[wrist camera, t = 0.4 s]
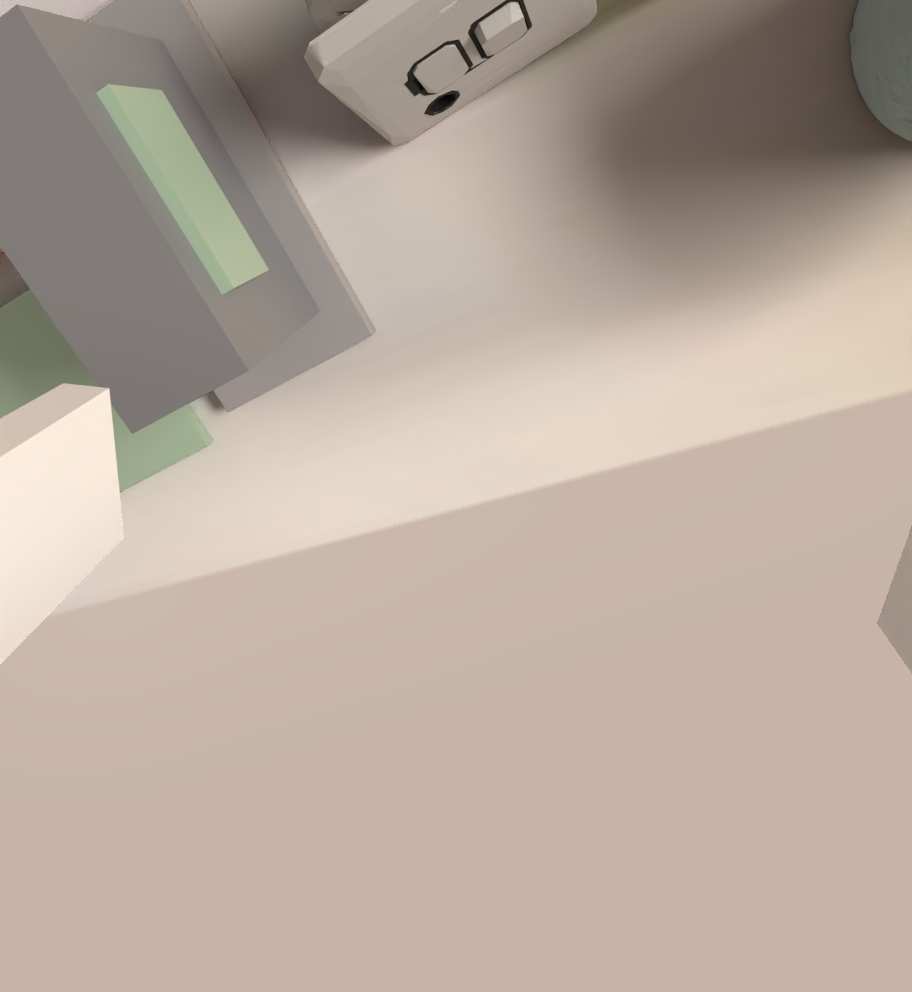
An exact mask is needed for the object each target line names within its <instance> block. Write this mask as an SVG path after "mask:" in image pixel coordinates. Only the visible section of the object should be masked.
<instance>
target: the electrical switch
mask: <svg viewBox="0 0 912 992" xmlns="http://www.w3.org/2000/svg"><path fill="white" fill-rule="evenodd" d="M306 3H307V7H308V10H309V14H310V16H311V18H312V20H313V22H314V24H315V26H316V27H317V29H318V31H319V34H320V35H319V36H318V37H316V38H315V39H314V40H312V41H311V42H309V44H308V47H307V50H306V53H305V55H304V60H305V61H306V63H307V64H308V66H309V68H310V69H311V71H312V73H313V74H314V76H315V78H316V80H317V81H318V83H320V84H321V85H322V86H323V87H324V88H326V89H327V90H328V91H329V92H330V93H332V94H333V95H334V96H335V97H336V98H338V99H339V100H340V101H341V102H342V103H343V104H345V105H346V106H347V107H348V108H349V109H351V110H352V111H353V112H354V113H355V114H357V115H358V116H359V117H360V118H361V119H363V120H364V121H365V122H366V123H367V124H369V125H370V126H371V127H372V128H373V129H375V130H376V131H377V132H378V133H379V134H380V135H382V136H383V137H384V138H385V139H386V140H388V141H389V142H390V143H391V144H392V145H394V146H395V145H399V144H403V143H408V142H409V141H411V140H413V139H414V138H416V137H417V136H419V135H420V134H422V133H423V132H425V131H426V130H428V129H430V128H431V127H433V126H434V125H436V124H437V123H439V122H440V121H442V120H443V119H445V118H446V117H448V116H449V115H451V114H453V113H454V112H456V111H457V110H459V109H460V108H462V107H463V106H465V105H466V104H468V103H469V102H471V101H473V100H474V99H476V98H477V97H479V96H480V95H482V94H483V93H485V92H486V91H488V90H489V89H491V88H492V87H494V86H496V85H497V84H499V83H500V82H502V81H503V80H505V79H506V78H508V77H509V76H511V75H512V74H514V73H516V72H517V71H519V70H520V69H522V68H523V67H525V66H526V65H528V64H529V63H531V62H532V61H534V60H535V59H537V58H539V57H540V56H542V55H543V54H545V53H546V52H548V51H549V50H551V49H552V48H554V47H555V46H557V45H558V44H560V43H562V42H563V41H565V40H566V39H568V38H569V37H571V36H572V35H574V34H575V33H577V32H578V31H580V30H581V29H583V28H584V27H585V26H587V25H588V24H590V22H591V21H592V20H593V18H594V17H595V16H596V14H597V13H598V12H597V5H596V0H306ZM336 12H337V13H342V14H343V15H340V16H339V15H338V14H337V13H336Z"/></svg>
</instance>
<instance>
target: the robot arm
mask: <svg viewBox="0 0 912 992" xmlns="http://www.w3.org/2000/svg"><path fill="white" fill-rule="evenodd" d="M123 538H124V532H123V521H122V511H121V501H120V491H119V481H118V471H117V461H116V451H115V441H114V431H113V421H112V411H111V401H110V391H109V388H103V387H94V386H85V385H75V384H66V383H63V384H61V385H59V386H58V387H56V388H54V389H52V390H50V391H49V392H47V393H45V394H43V395H42V396H40V397H38V398H36V399H34V400H33V401H31V402H29V403H27V404H25V405H24V406H22V407H20V408H18V409H17V410H15V411H13V412H11V413H9V414H8V415H6V416H4V417H2V418H1V419H0V664H1V663H2V662H3V661H4V660H5V659H6V658H7V657H8V656H9V655H10V654H11V653H12V652H13V651H14V650H15V649H16V648H17V647H18V646H19V645H20V644H21V643H22V642H23V641H24V640H25V638H27V637H28V636H29V635H30V634H31V633H32V632H33V631H34V629H36V627H38V626H39V625H40V623H41V622H42V621H43V620H44V619H45V618H46V617H47V616H48V615H49V614H50V613H51V612H52V611H53V610H54V609H55V608H56V607H57V606H58V605H59V604H60V603H61V602H62V601H63V600H64V599H65V598H66V597H67V596H68V595H69V594H70V593H71V592H72V591H73V590H74V589H75V588H76V587H77V586H78V585H79V583H80V582H81V581H82V580H83V579H84V578H85V577H86V576H87V575H88V574H89V573H90V572H91V571H92V570H93V569H94V568H95V567H96V566H97V565H98V564H99V563H100V562H101V561H102V560H103V559H104V558H105V557H106V556H107V555H108V554H109V553H110V552H111V551H112V550H113V549H114V548H115V547H116V546H117V545H118V544H119V542H120V541H121V540H122V539H123ZM877 624H878V625H879V627H880V628H881V629H882V631H883V632H884V634H885V635H886V637H887V638H888V639H889V641H890V642H891V644H892V645H893V647H894V648H895V649H896V651H897V652H898V654H899V655H900V657H901V658H902V660H903V661H904V663H905V664H906V666H907V667H908V668H909V670H910V671H911V673H912V527H911V530H910V533H909V535H908V538H907V541H906V544H905V547H904V549H903V552H902V556H901V558H900V561H899V564H898V566H897V569H896V572H895V575H894V578H893V580H892V583H891V586H890V589H889V592H888V595H887V597H886V600H885V603H884V606H883V609H882V612H881V614H880V617H879V620H878V623H877Z"/></svg>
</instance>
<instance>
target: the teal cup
mask: <svg viewBox="0 0 912 992" xmlns="http://www.w3.org/2000/svg"><path fill="white" fill-rule="evenodd" d="M849 36H850V45H851V58H850V59H851V61H852V65H853V74H854V76H855V79H856V82H857V85H858V89H859V92H860V94H861V96H862V97H863V99H864V101H865V103H866V105H867V107H868V108H869V109H870V111H871V112H872V113H873V115H874V116H875V117H876V118H877V119H878V120H879V121H880V122H881V123H882V124H883V125H884V126H885V127H886V128H888V129H889V130H890V131H892V132H893V133H895V134H897V135H898V136H900V137H902V138H904V139H906V140H909V141H912V0H859V2H858V5H857V8H856V11H855V14H854V17H853V29H852V30H851V32H850V33H849Z"/></svg>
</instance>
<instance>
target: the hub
mask: <svg viewBox="0 0 912 992" xmlns="http://www.w3.org/2000/svg"><path fill="white" fill-rule="evenodd" d="M0 247H1V249H2V250H3V252H4V253H5V254H6V256H7V257H8V259H9V260H10V262H11V263H12V264H13V266H14V267H15V269H16V270H17V271H18V273H19V274H20V276H21V277H22V279H23V280H24V281H25V283H26V284H27V286H28V287H29V288H30V290H31V291H32V293H33V294H34V296H35V297H36V298H37V300H38V301H39V303H40V304H41V306H42V307H43V308H44V310H45V311H46V313H47V314H48V315H49V317H50V318H51V320H52V321H53V323H54V324H55V325H56V327H57V328H58V330H59V331H60V332H61V334H62V335H63V337H64V338H65V340H66V341H67V342H68V344H69V345H70V347H71V348H72V350H73V351H74V352H75V354H76V355H77V357H78V358H79V359H80V361H81V362H82V364H83V365H84V367H85V368H86V369H87V371H88V372H89V374H90V375H91V376H92V378H93V379H94V381H95V382H96V384H97V385H98V386H99V387H103V388H109V391H110V401H111V405H112V406H113V408H114V409H115V411H116V412H117V413H118V415H119V416H120V418H121V419H122V420H123V422H124V423H125V425H126V426H127V428H128V429H129V430H130V432H131V433H132V434H134V433H135V432H137V431H139V430H141V429H143V428H145V427H146V426H148V425H150V424H152V423H154V422H156V421H157V420H159V419H161V418H163V417H165V416H167V415H169V414H170V413H172V412H174V411H176V410H178V409H180V408H181V407H183V406H185V405H187V404H189V403H191V402H192V401H194V400H196V399H198V398H200V397H202V396H204V395H205V394H207V393H209V392H211V391H214V392H215V394H216V396H217V397H218V399H219V400H220V402H221V403H222V405H223V406H224V408H225V409H226V411H227V412H230V411H231V410H233V409H235V408H237V407H239V406H241V405H243V404H245V403H246V402H248V401H250V400H252V399H254V398H256V397H258V396H260V395H262V394H263V393H265V392H267V391H269V390H271V389H273V388H275V387H277V386H278V385H280V384H282V383H284V382H286V381H288V380H290V379H292V378H294V377H295V376H297V375H299V374H301V373H303V372H305V371H307V370H309V369H310V368H312V367H314V366H316V365H318V364H320V363H322V362H324V361H326V360H327V359H329V358H331V357H333V356H335V355H337V354H339V353H341V352H342V351H344V350H346V349H348V348H350V347H352V346H354V345H356V344H358V343H359V342H361V341H363V340H365V339H367V338H369V337H371V336H372V335H373V334H374V333H375V331H376V330H375V328H374V327H373V325H372V323H371V321H370V319H369V318H368V316H367V314H366V312H365V311H364V309H363V307H362V305H361V304H360V302H359V300H358V298H357V296H356V295H355V293H354V291H353V289H352V288H351V286H350V284H349V282H348V281H347V279H346V277H345V275H344V274H343V272H342V270H341V268H340V266H339V265H338V263H337V261H336V259H335V258H334V256H333V254H332V252H331V251H330V249H329V247H328V245H327V243H326V242H325V240H324V238H323V236H322V235H321V233H320V231H319V229H318V228H317V226H316V224H315V222H314V221H313V219H312V217H311V215H310V213H309V212H308V210H307V208H306V206H305V205H304V203H303V201H302V199H301V198H300V196H299V194H298V192H297V190H296V189H295V187H294V185H293V183H292V182H291V180H290V178H289V176H288V175H287V173H286V171H285V169H284V168H283V166H282V164H281V162H280V160H279V159H278V157H277V155H276V153H275V152H274V150H273V148H272V146H271V145H270V143H269V141H268V139H267V137H266V136H265V134H264V132H263V130H262V129H261V127H260V125H259V123H258V122H257V120H256V118H255V116H254V115H253V113H252V111H251V109H250V107H249V106H248V104H247V102H246V100H245V99H244V97H243V95H242V93H241V92H240V90H239V88H238V86H237V84H236V83H235V81H234V79H233V77H232V76H231V74H230V72H229V70H228V69H227V67H226V65H225V63H224V62H223V60H222V58H221V56H220V54H219V53H218V51H217V49H216V47H215V46H214V44H213V42H212V40H211V39H210V37H209V35H208V33H207V31H206V30H205V28H204V26H203V24H202V23H201V21H200V19H199V17H198V16H197V14H196V12H195V10H194V9H193V7H192V5H191V3H190V1H189V0H116V1H115V2H113V3H112V4H111V5H109V6H108V7H106V8H105V9H104V10H102V11H101V12H99V13H98V14H97V15H95V16H94V17H93V18H91V19H90V20H88V21H87V22H85V21H81V20H77V19H73V18H69V17H65V16H61V15H57V14H53V13H49V12H45V11H41V10H37V9H33V8H29V7H25V6H21V5H16V6H15V7H13V8H12V9H11V10H9V11H8V12H7V13H5V14H4V15H3V16H1V17H0Z"/></svg>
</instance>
